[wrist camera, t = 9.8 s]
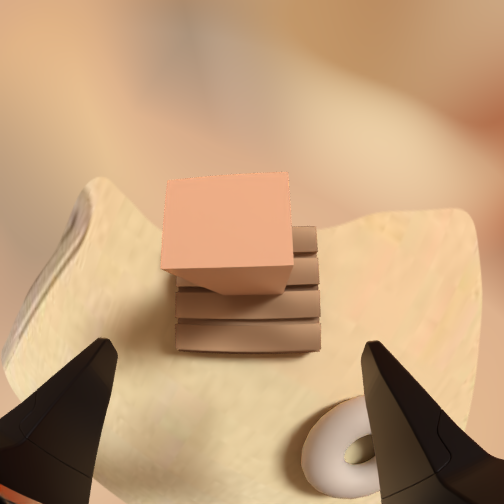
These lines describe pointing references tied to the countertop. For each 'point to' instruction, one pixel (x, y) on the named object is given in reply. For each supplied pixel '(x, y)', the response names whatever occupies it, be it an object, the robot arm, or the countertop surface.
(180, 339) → the stacked wooden slats
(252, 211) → the clay bar
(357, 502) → the countertop surface
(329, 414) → the donut
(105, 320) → the countertop surface
